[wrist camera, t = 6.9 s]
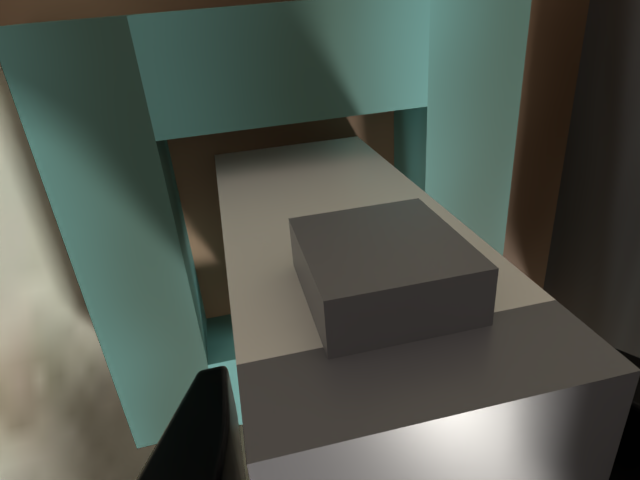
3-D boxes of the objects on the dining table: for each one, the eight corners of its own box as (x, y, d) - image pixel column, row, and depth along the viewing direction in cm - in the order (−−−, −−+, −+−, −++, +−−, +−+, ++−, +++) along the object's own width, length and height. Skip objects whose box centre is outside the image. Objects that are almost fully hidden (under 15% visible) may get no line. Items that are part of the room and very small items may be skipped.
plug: (236, 281, 13) (290, 683, 5) (209, 125, 11) (234, 397, 3) (361, 259, 14) (575, 592, 6) (355, 108, 12) (661, 307, 4)
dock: (138, 398, 15) (115, 553, 11) (-3, -29, 10) (-157, -55, 6) (754, 267, 19) (916, 344, 15) (892, -90, 14) (1208, -131, 10)
